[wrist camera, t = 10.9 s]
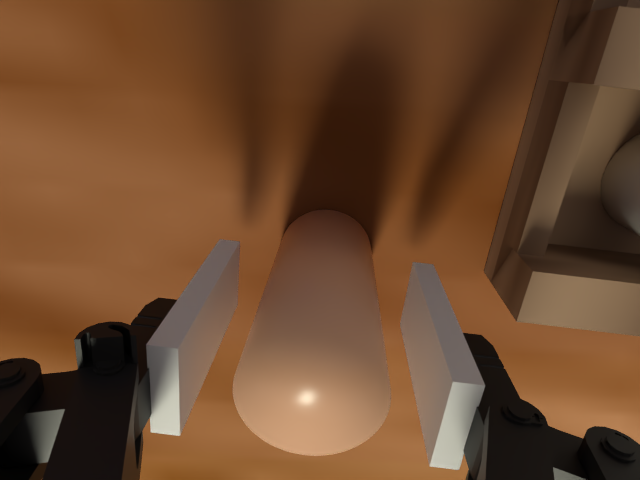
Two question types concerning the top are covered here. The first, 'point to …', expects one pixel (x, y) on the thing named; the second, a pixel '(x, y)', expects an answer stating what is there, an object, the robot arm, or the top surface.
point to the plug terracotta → (316, 343)
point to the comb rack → (574, 179)
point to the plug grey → (623, 186)
